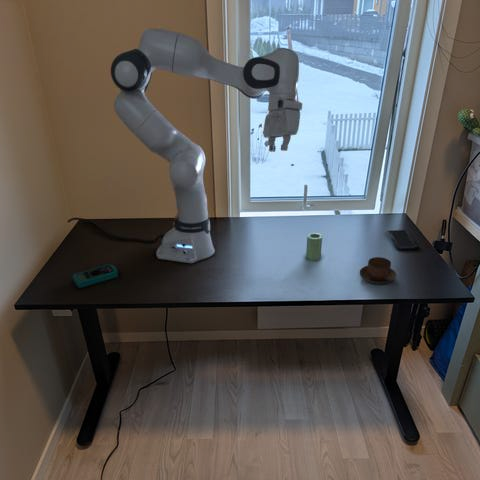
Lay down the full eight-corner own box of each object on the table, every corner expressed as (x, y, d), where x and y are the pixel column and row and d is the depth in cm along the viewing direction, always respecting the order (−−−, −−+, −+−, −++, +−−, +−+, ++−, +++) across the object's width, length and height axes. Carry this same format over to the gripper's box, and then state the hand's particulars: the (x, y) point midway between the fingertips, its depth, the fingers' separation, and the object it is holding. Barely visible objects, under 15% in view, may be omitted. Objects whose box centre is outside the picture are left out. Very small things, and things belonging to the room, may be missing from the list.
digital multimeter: (120, 277, 165) (118, 270, 163) (79, 289, 158) (77, 282, 157) (113, 269, 170) (111, 262, 168) (73, 281, 164) (71, 273, 162)
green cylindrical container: (305, 259, 171) (307, 238, 166) (306, 253, 175) (307, 232, 170) (320, 260, 170) (322, 239, 165) (320, 253, 174) (322, 233, 169)
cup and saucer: (403, 280, 156) (406, 264, 153) (377, 290, 151) (380, 274, 148) (376, 266, 165) (379, 250, 161) (351, 276, 160) (353, 260, 156)
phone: (397, 247, 174) (386, 230, 186) (397, 249, 175) (386, 233, 187) (418, 246, 174) (406, 229, 186) (417, 249, 175) (405, 232, 187)
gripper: (260, 108, 157) (257, 151, 161) (286, 100, 139) (282, 149, 143) (277, 110, 159) (273, 153, 163) (305, 103, 141) (300, 151, 145)
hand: (277, 151), depth 153 cm, fingers open, 8 cm apart
